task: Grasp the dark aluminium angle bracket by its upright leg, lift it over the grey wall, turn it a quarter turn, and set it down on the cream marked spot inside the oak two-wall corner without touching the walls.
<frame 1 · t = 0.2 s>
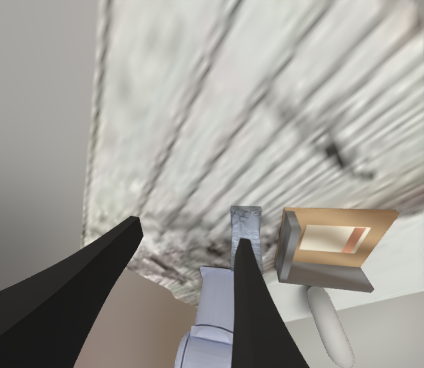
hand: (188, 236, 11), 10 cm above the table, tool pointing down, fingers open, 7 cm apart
donut: (315, 287, 29), on the table
bracket: (245, 221, 23), on the table
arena: (323, 239, 22), on the table
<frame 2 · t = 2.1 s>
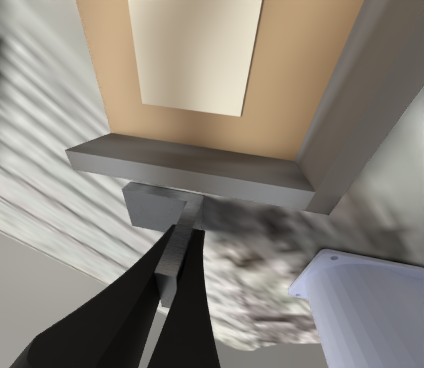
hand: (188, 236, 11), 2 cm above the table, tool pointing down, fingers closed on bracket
bracket: (167, 207, 13), on the table, touching gripper
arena: (217, 32, 7), on the table
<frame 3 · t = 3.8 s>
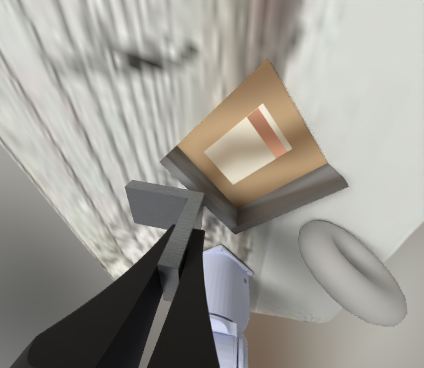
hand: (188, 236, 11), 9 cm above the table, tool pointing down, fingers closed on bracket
donut: (322, 225, 21), on the table
bracket: (169, 205, 13), point 7 cm above the table, touching gripper
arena: (247, 157, 17), on the table
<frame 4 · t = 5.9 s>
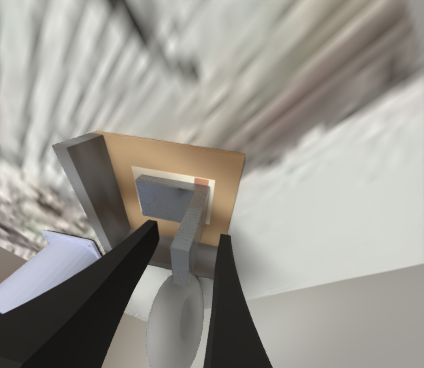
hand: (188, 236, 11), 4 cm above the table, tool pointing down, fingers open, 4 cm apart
donut: (191, 273, 23), on the table
bracket: (176, 198, 14), point 1 cm above the table, touching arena
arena: (171, 200, 15), on the table
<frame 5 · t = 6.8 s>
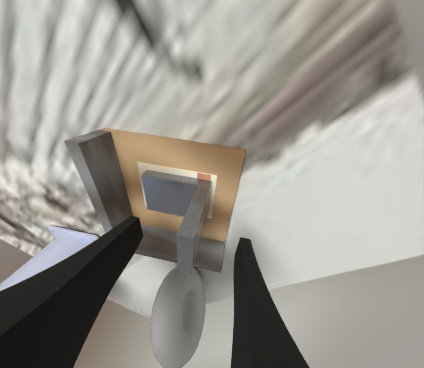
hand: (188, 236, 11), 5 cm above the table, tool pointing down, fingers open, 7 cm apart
donut: (193, 268, 24), on the table
bracket: (179, 193, 15), point 1 cm above the table, touching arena
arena: (175, 195, 16), on the table
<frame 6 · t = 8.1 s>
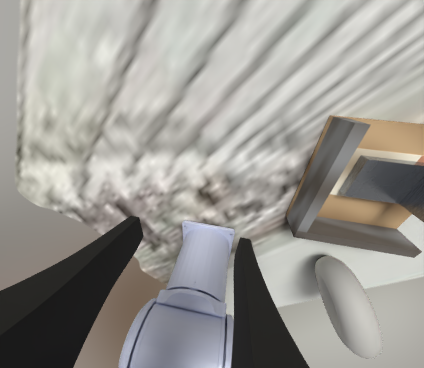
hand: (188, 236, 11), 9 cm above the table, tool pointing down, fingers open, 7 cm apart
donut: (323, 260, 24), on the table
bracket: (381, 178, 15), point 1 cm above the table, touching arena
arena: (362, 182, 16), on the table
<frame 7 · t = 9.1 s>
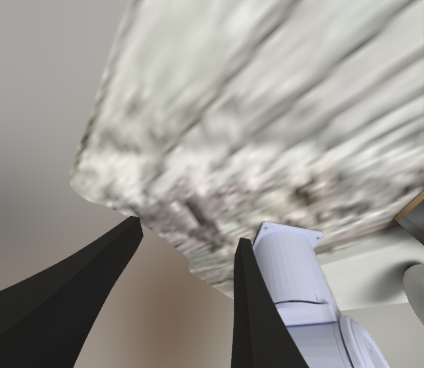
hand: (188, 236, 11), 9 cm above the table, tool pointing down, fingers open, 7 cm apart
donut: (411, 267, 22), on the table
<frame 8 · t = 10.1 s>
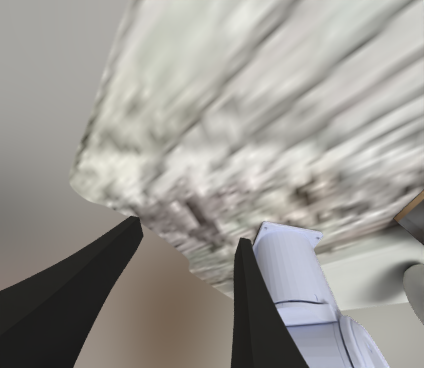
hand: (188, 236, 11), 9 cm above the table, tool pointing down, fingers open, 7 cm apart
donut: (411, 267, 22), on the table
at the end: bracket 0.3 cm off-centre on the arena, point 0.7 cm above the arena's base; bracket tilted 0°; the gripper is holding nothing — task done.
